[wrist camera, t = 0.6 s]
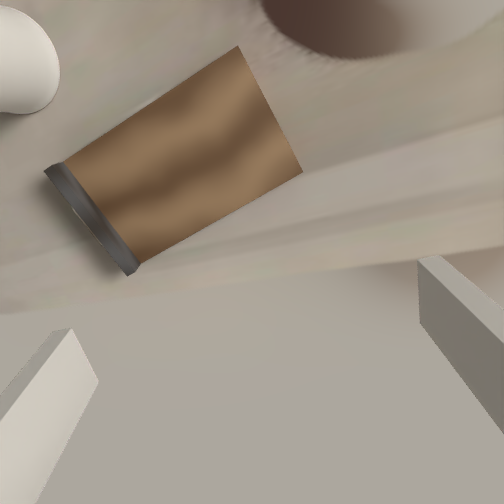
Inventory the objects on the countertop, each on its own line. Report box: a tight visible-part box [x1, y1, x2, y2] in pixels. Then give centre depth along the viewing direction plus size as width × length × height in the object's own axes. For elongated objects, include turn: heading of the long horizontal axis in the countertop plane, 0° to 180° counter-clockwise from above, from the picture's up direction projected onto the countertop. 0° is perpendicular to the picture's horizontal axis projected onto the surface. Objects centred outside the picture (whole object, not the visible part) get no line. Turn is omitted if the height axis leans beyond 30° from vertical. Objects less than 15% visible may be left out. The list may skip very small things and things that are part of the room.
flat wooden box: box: [44, 46, 303, 276], centre depth 34 cm, size 12×20×4 cm, turn 120°
